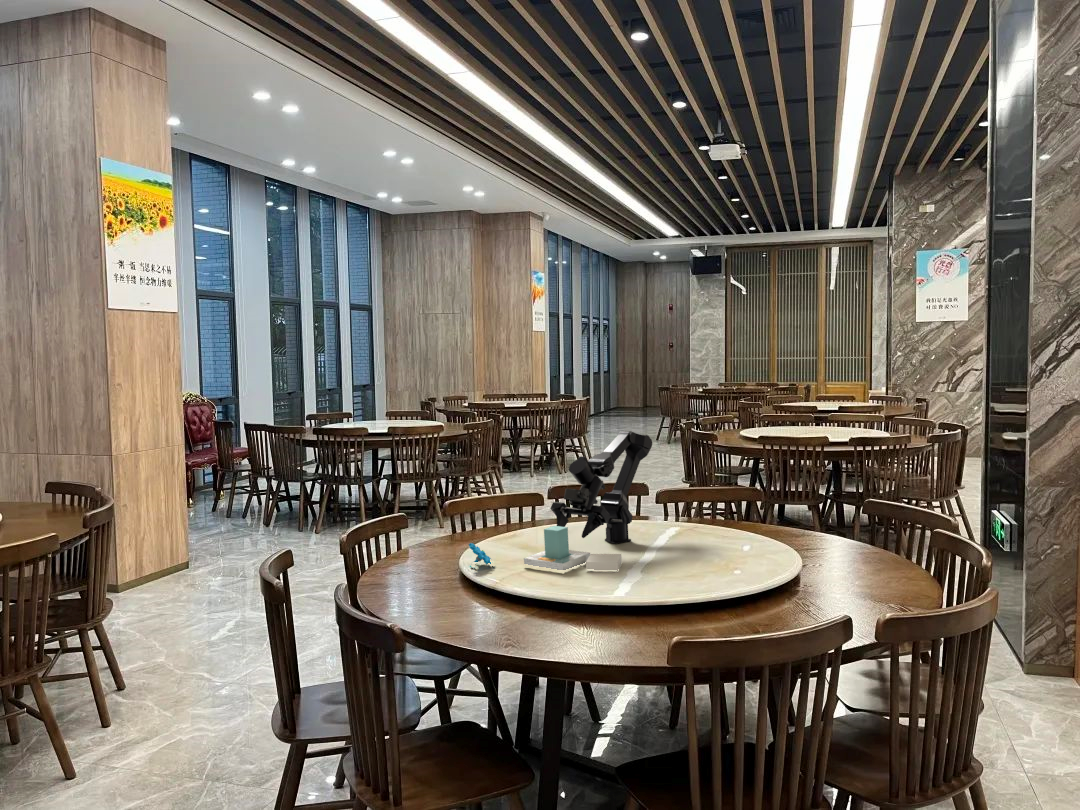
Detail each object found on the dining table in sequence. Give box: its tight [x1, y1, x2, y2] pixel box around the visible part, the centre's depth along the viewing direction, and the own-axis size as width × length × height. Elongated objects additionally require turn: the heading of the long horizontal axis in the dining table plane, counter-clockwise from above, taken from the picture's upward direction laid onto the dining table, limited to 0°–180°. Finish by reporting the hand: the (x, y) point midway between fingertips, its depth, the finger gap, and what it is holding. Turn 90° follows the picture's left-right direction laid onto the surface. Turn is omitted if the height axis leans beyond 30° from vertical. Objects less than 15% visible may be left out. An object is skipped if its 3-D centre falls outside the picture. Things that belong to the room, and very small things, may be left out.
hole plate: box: [523, 549, 591, 570], centre depth 260 cm, size 14×14×3 cm
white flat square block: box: [585, 553, 623, 572], centre depth 254 cm, size 9×9×3 cm
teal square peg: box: [543, 525, 570, 559], centre depth 260 cm, size 5×5×11 cm
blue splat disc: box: [468, 542, 492, 565], centre depth 262 cm, size 11×6×10 cm
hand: (569, 535), depth 265 cm, fingers open, 9 cm apart
